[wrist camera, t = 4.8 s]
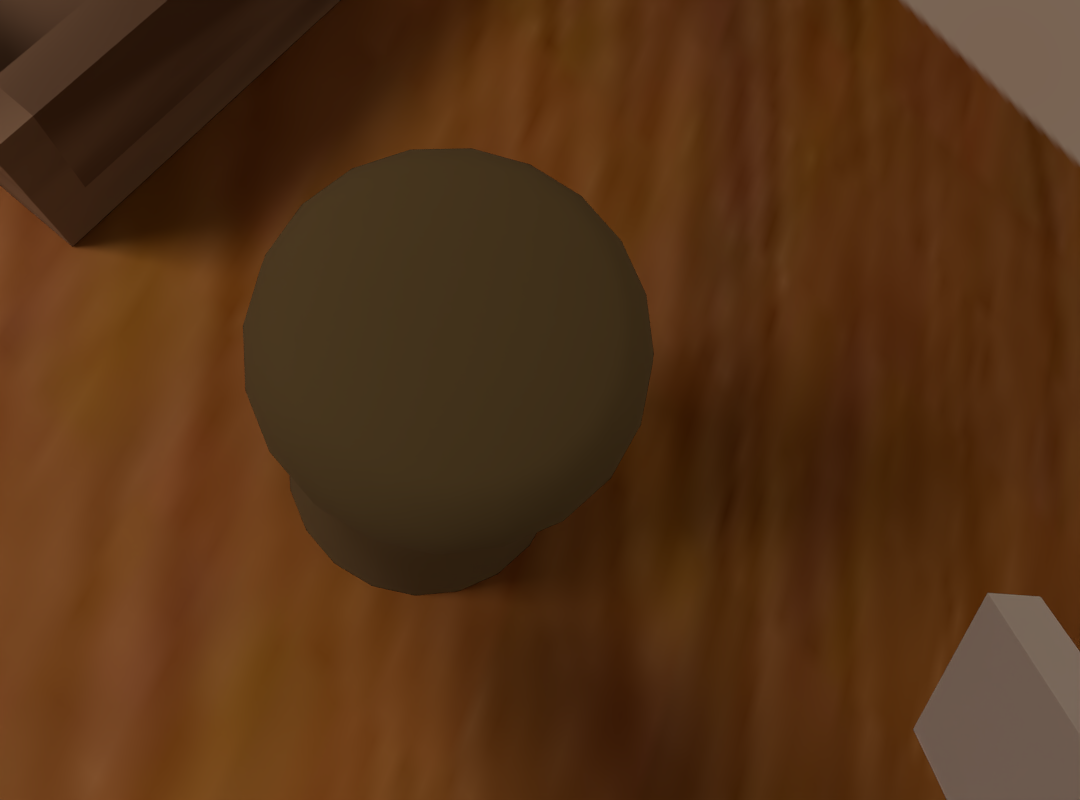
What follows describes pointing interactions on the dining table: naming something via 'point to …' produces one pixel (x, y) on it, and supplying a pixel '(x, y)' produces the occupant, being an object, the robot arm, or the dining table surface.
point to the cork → (445, 363)
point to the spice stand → (122, 90)
